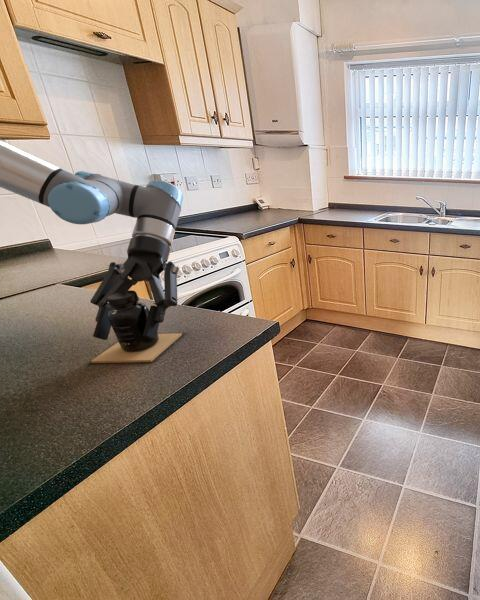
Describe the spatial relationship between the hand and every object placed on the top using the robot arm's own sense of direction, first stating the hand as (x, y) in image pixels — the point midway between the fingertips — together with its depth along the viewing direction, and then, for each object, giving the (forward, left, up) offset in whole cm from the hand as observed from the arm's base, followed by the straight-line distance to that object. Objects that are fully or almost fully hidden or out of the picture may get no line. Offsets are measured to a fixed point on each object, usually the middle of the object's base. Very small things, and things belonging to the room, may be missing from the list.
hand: (124, 337), depth 69 cm
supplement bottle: (0, +3, -4) cm, 5 cm away
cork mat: (0, +3, -4) cm, 5 cm away
